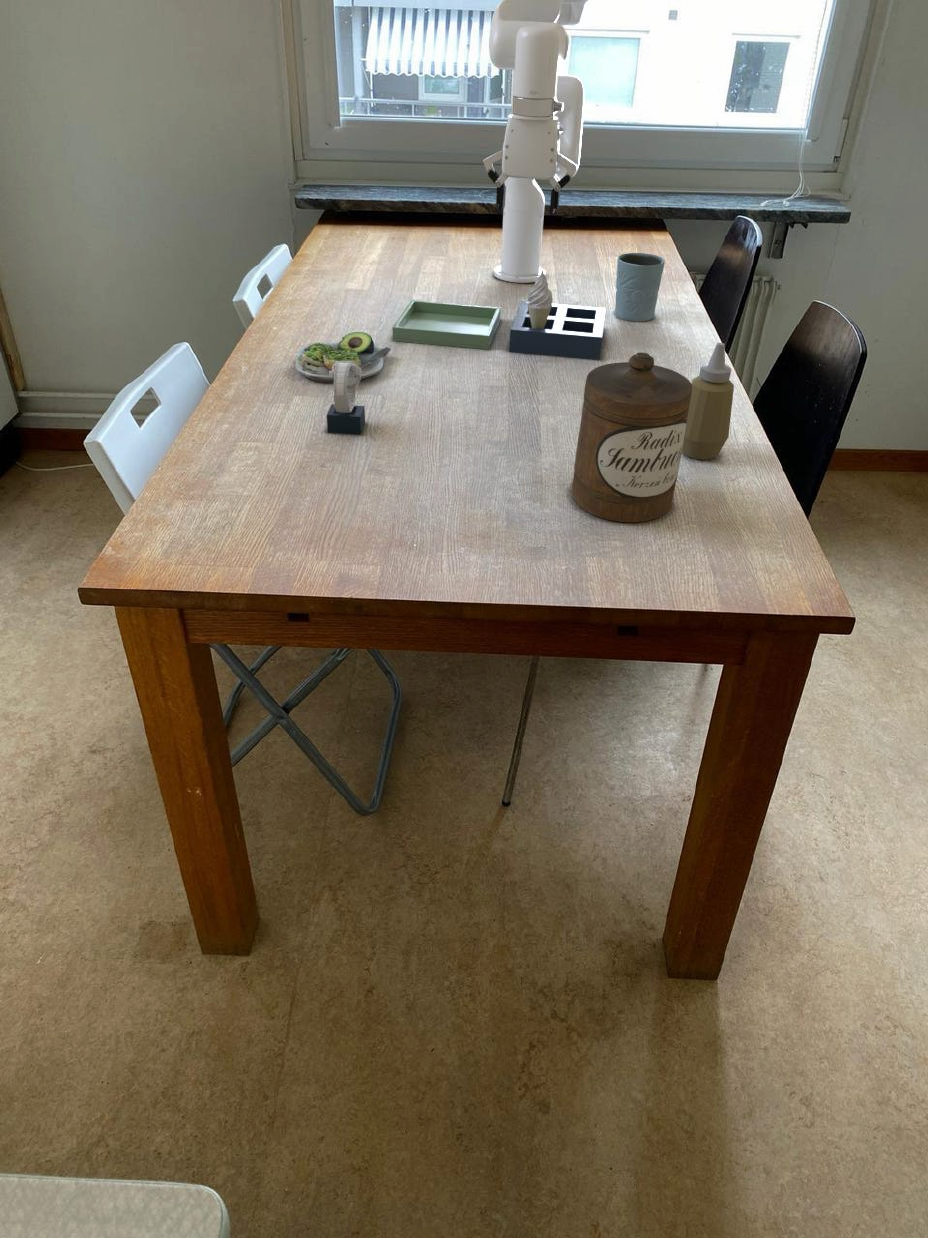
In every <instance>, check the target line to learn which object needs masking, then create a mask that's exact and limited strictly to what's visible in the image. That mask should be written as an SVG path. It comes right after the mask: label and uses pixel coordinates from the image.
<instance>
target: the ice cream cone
mask: <svg viewBox="0 0 928 1238" xmlns="http://www.w3.org/2000/svg"><path fill="white" fill-rule="evenodd" d="M543 269H544V268H542V271H541V274H540V276H539V278H538V280H537V281H536V282H534V287H533V288H532V289H531V291H529V293H528V296H529V297H528V298H527V302H529V303H528V304H527V306H528V310H529V315H530V320H531V325H532V328H538V329H544V327H545V324H546V321H547V318H548V316H549V313H550V310H551V308H552V304H553V292H552V291H551V290H550V289H549V283H548V280H547V277H546V276H545V275H544V272H543Z"/></svg>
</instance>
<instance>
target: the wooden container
mask: <svg viewBox="0 0 928 1238" xmlns="http://www.w3.org/2000/svg"><path fill="white" fill-rule="evenodd" d="M691 382H692V381H690V380H689V379H688V378H687V377H686V376H684V375H683V374H681V373H680V372H678V371H675V370H673V369H670V368H668V367H664V366H660V365H656V364H655V358H654V357H653V356H652V355H650V354H649V353H647V352H642V351H641V352H640V351H639V352H636V353H635V354H633V355H631V357H629V359H628V361H620V362H612V363H606V364H603V365H599V366H597V367H594V368H593V369H592V370H590V371H589V372H588V373H587V375H586V379H585V382H584V391H583V401H582V402H583V403H582V411H581V418H580V425H579V431H578V437H577V442H576V443H577V444H576V451H575V459H574V466H573V467H574V468H573V470H574V471H573V477H572V484H571V496H572V499H573V501H574V502H575V504H576V505H577V506H578V507H579V508H581V509H582V510H584V511H585V512H586V513H589V514H590V515H593V516H595V517H598V518H602V519H605V520H608V521H613V522H618V523H619V522H620V523H641V522H648V521H653V520H655V519H657V518H660V517H661V516H663V515H665V514H666V513H667V512H668V511H669V510H670V509H671V507H672V504H673V500H674V494H675V489H676V485H677V481H678V480H677V479H678V475H679V470H680V465H681V461H682V454H683V452H682V448H683V441H684V435H685V430H686V424H687V418H688V410H689V406H690V401H691V396H692V384H691Z"/></svg>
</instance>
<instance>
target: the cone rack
mask: <svg viewBox="0 0 928 1238" xmlns="http://www.w3.org/2000/svg"><path fill="white" fill-rule="evenodd" d="M528 303H529V301H528V300H527V301H526V300H520V303H519V306H518V309H517V311H516V313H515V317H514V319H513V322H512V324H511V327H510V329H509V330H510V332H509V343H508V344H509V347H508V352H510V353H517V354H528V355H529V354H530V355H540V356H541V355H542V356H553V357H561V358H563V357H564V358H572V359H573V358H574V359H585V360H596V361H600V359H601V353H602V345H603V339H604V331H605V324H606V314H607V307H597V306H586V305H575V304H562V303H552V308H551V310H550V313H549V316H548V318H547V321H546V324H545V327H544V329H538V328H532V325H531V320H530V315H529V310H528V306H527V304H528Z"/></svg>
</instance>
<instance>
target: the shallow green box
mask: <svg viewBox="0 0 928 1238" xmlns="http://www.w3.org/2000/svg"><path fill="white" fill-rule="evenodd" d="M501 315H502V307H500V306H499V307H497V306H487V305H486V306H485V305H473V304H463V303H461V304H460V303H450V302H449V303H448V302H440V301H439V302H437V301H429V300H428V301H427V300H417V299H416V300H415V299H410V301H409V303H408V304H407V306H406V307H405V308H404V310H403V311H402V313H401V314H400V316H399V317H398V318H397V320H396V321H395V323H394V325H393V326H392V341H393V342H400V343H401V342H402V343H411V344H424V345H435V346H444V347H454V348H455V347H457V348H467V349H477V350H478V349H480V350H489V349H490V346H491V344H492V341H493V339H494V336H495V334H496V331H497V329H498V327H499V324H500V322H501Z"/></svg>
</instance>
